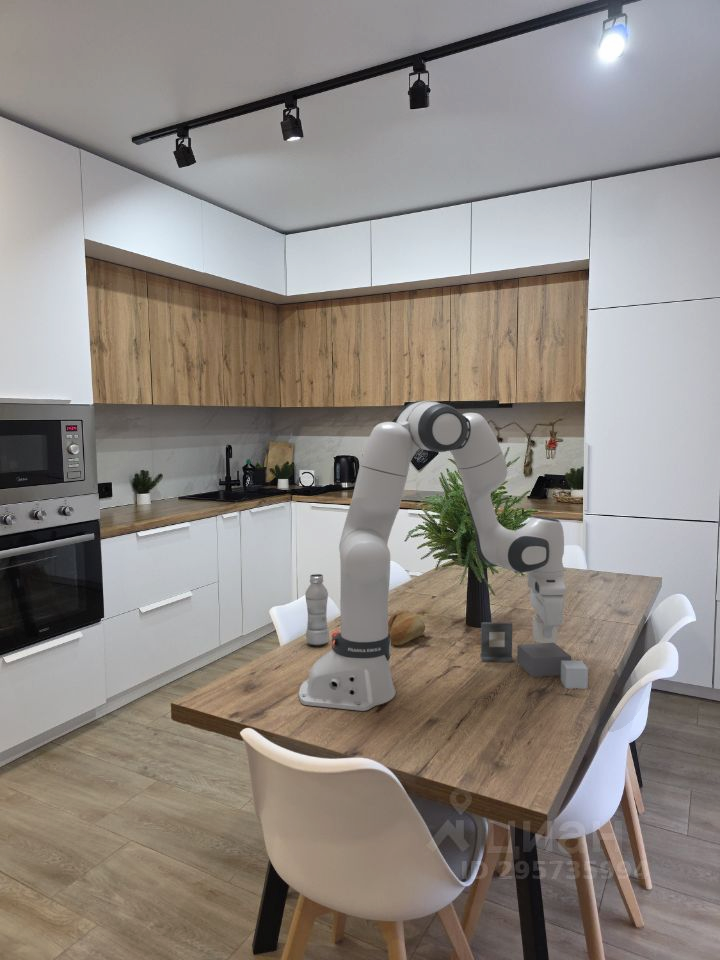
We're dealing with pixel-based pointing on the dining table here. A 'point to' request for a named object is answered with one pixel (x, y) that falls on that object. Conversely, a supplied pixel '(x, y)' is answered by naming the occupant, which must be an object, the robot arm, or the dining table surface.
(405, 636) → the bread roll
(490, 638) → the standing grey panel
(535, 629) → the ivory cube
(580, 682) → the grey blue cube
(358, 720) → the dining table surface
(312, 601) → the plastic bottle
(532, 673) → the base block
